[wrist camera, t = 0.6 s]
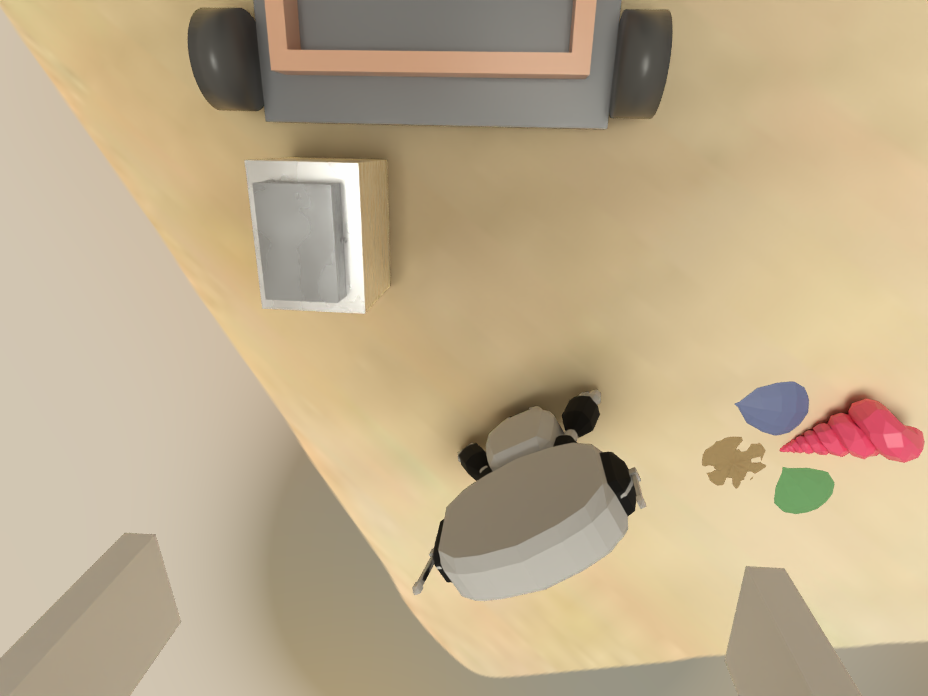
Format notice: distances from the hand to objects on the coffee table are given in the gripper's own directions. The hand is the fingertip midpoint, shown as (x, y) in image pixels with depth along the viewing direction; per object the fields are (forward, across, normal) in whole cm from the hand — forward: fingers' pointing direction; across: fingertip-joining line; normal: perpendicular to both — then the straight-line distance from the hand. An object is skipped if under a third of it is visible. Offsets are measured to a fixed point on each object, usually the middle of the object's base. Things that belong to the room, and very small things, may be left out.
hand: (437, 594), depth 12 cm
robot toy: (+25, +3, -10) cm, 27 cm away
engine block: (+25, -10, +4) cm, 28 cm away
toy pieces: (+26, +21, -11) cm, 35 cm away
